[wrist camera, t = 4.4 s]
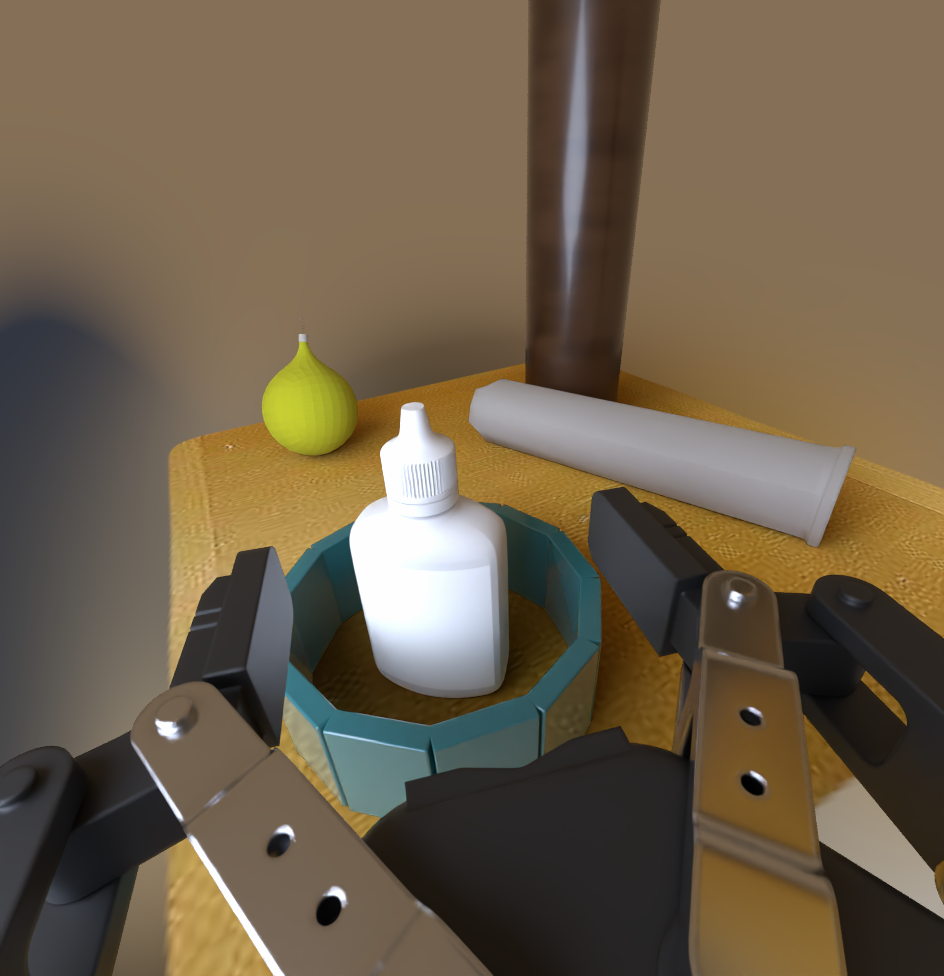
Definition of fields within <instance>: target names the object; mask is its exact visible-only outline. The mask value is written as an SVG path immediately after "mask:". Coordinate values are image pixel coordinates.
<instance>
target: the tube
mask: <svg viewBox="0 0 944 976" xmlns="http://www.w3.org/2000/svg"><path fill="white" fill-rule="evenodd" d="M469 422H470V423H471V424H472V425H473V427H474V428H475V429H476V430H477V431H478V432H479V433H480V435H481V436H482V437H483V438H484V439H485V440H486V441H487V442H490V443H493V444H496V445H500V446H503V447H506V448H510V449H513V450H516V451H519V452H523V453H526V454H529V455H532V456H536V457H539V458H542V459H545V460H549V461H552V462H555V463H558V464H562V465H565V466H568V467H572V468H575V469H578V470H581V471H585V472H588V473H591V474H594V475H598V476H601V477H604V478H607V479H611V480H614V481H617V482H620V483H624V484H627V485H630V486H633V487H637V488H640V489H643V490H647V491H650V492H653V493H656V494H660V495H663V496H666V497H669V498H673V499H676V500H679V501H682V502H686V503H689V504H692V505H695V506H699V507H702V508H705V509H709V510H712V511H715V512H718V513H722V514H725V515H728V516H731V517H735V518H738V519H741V520H744V521H748V522H751V523H754V524H757V525H761V526H764V527H767V528H771V529H774V530H777V531H780V532H784V533H787V534H790V535H793V536H797V537H799V538H802V539H804V540H805V541H806V543H807V545H810V546H813V547H819V544H820V542H821V539H822V537H823V534H824V531H825V529H826V526H827V524H828V521H829V519H830V516H831V513H832V511H833V508H834V506H835V503H836V500H837V498H838V495H839V493H840V490H841V487H842V485H843V482H844V480H845V477H846V474H847V472H848V469H849V467H850V464H851V461H852V459H853V456H854V453H855V451H856V448H855V447H853V446H847V445H844V446H843V447H841V448H834V447H828V446H824V445H819V444H814V443H809V442H804V441H799V440H795V439H790V438H785V437H780V436H775V435H771V434H766V433H761V432H756V431H751V430H746V429H742V428H737V427H732V426H727V425H722V424H718V423H713V422H708V421H703V420H698V419H693V418H689V417H684V416H679V415H674V414H669V413H665V412H660V411H655V410H650V409H645V408H640V407H636V406H631V405H626V404H621V403H616V402H612V401H607V400H602V399H597V398H592V397H587V396H583V395H578V394H573V393H568V392H563V391H558V390H554V389H549V388H544V387H539V386H534V385H530V384H525V383H520V382H515V381H510V380H505V379H500V380H498V381H496V382H494V383H492V384H490V385H488V386H485V387H482V388H478V389H476V391H475V394H474V397H473V400H472V403H471V407H470V414H469Z"/></svg>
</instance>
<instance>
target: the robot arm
mask: <svg viewBox="0 0 944 976" xmlns="http://www.w3.org/2000/svg"><path fill="white" fill-rule="evenodd" d="M588 545H589V551H590V554H591V557H592V559H593V561H594V563H595V564H596V566H597V567H598V569H599V570H600V572H601V573H602V574H603V576H604V577H605V579H606V580H607V582H608V583H609V585H610V586H611V587H612V589H613V590H614V592H615V593H616V595H617V596H618V598H619V599H620V600H621V602H622V603H623V605H624V606H625V608H626V609H627V611H628V612H629V613H630V615H631V616H632V618H633V619H634V621H635V622H636V623H637V625H638V626H639V628H640V629H641V631H642V632H643V634H644V635H645V636H646V638H647V639H648V641H649V642H650V644H651V645H652V647H653V648H654V649H655V651H656V652H657V654H658V655H659V657H661V656H666V655H670V654H674V653H679V655H680V656H681V657H682V659H683V663H682V666H681V672H680V681H679V691H678V700H677V710H676V719H675V728H674V737H673V743H672V749H671V751H668V750H665V749H662V748H659V747H655V746H651V745H645V744H638V743H629V741H628V739H627V737H626V735H625V733H624V732H623V730H622V728H621V726H619V727H615V728H611V729H607V730H603V731H599V732H596V733H592V734H588V735H584V736H580V737H576V738H573V739H570V740H568V741H566V742H565V743H563V744H561V745H560V746H558V747H556V748H554V749H553V750H551V751H549V752H548V753H546V754H544V755H543V756H541V757H539V758H538V759H536V760H534V761H532V762H531V763H529V764H527V765H525V766H523V767H520V768H457V769H453V770H449V771H446V772H442V773H438V774H434V775H430V776H426V777H423V778H419V779H415V780H411V781H407V782H405V791H406V800H407V801H405V802H403V803H402V804H400V805H398V806H397V807H395V808H394V809H392V810H391V811H390V812H388V813H387V814H386V815H384V816H383V817H382V818H381V819H380V820H379V821H378V822H377V823H376V824H374V825H373V826H372V827H371V828H370V830H369V831H368V832H367V833H366V834H365V835H364V836H363V838H362V839H361V838H360V837H359V836H358V835H357V833H356V832H355V831H354V830H353V829H352V828H351V827H350V826H349V825H348V824H347V822H346V821H345V820H344V819H343V818H342V817H341V816H340V815H339V814H338V812H337V811H336V810H335V809H334V808H333V807H332V806H331V805H330V804H329V803H328V801H327V800H326V799H325V798H324V797H323V796H322V795H321V794H320V793H319V792H318V790H317V789H316V788H315V787H314V786H313V785H312V784H311V783H310V782H309V781H308V779H307V778H306V777H305V776H304V775H303V774H302V773H301V772H300V771H299V770H298V768H297V767H296V766H295V765H294V764H293V763H292V762H291V761H290V760H289V759H288V757H287V756H286V755H285V754H284V753H283V752H282V751H280V750H279V749H278V748H274V749H273V750H271V749H270V748H271V747H275V746H279V744H280V735H281V726H282V717H283V708H284V699H285V690H286V681H287V672H288V663H289V654H290V645H291V636H292V627H293V605H292V599H291V595H290V592H289V589H288V586H287V582H286V579H285V576H284V573H283V570H282V567H281V564H280V561H279V558H278V555H277V552H276V550H275V548H274V547H273V546H270V547H264V548H258V549H252V550H246V551H241V552H238V554H237V556H236V559H235V563H234V566H233V570H232V573H231V575H229V576H223V577H217V578H216V579H215V580H214V582H213V583H212V584H211V585H210V586H209V587H208V588H207V590H206V591H205V592H204V593H203V594H202V596H201V598H200V601H199V604H198V607H197V610H196V617H194V619H193V622H192V624H191V627H190V629H191V632H189V633H188V636H187V639H186V642H185V645H184V647H183V650H182V653H181V656H180V659H179V662H178V665H177V668H176V670H175V673H174V676H173V679H172V682H171V685H170V688H169V690H167V691H165V692H164V693H162V694H160V695H159V696H157V697H156V698H155V699H153V700H152V701H151V702H150V703H149V704H148V705H147V706H146V707H145V708H144V709H143V710H142V711H141V713H140V714H139V715H138V717H137V718H136V720H135V722H134V724H133V727H132V730H131V731H129V732H127V733H125V734H124V735H122V736H120V737H118V738H116V739H113V740H111V741H109V742H108V743H105V744H103V745H101V746H99V747H96V748H94V749H92V750H90V751H88V752H86V753H84V754H82V755H79V756H77V757H75V758H73V757H72V756H71V754H70V753H69V752H68V751H67V750H66V749H64V748H61V747H58V746H45V747H40V748H36V749H33V750H30V751H27V752H25V753H23V754H20V755H18V756H17V757H15V758H13V759H11V760H9V761H8V762H6V763H5V764H3V765H2V766H0V976H112V973H113V969H114V965H115V960H116V957H117V953H118V949H119V945H120V941H121V936H122V932H123V928H124V924H125V920H126V916H127V912H128V908H129V904H130V900H131V896H132V892H133V888H134V884H135V880H136V876H137V872H138V868H139V865H140V864H142V863H144V862H146V861H147V860H149V859H151V858H152V857H154V856H156V855H158V854H159V853H161V852H163V851H165V850H166V849H168V848H170V847H172V846H173V845H175V844H177V843H178V842H180V841H182V840H184V839H185V838H187V837H188V839H189V840H190V842H191V844H192V845H193V847H194V848H195V850H196V852H197V853H198V855H199V856H200V858H201V860H202V861H203V863H204V864H205V866H206V868H207V869H208V871H209V872H210V874H211V876H212V877H213V879H214V880H215V882H216V884H217V885H218V887H219V888H220V890H221V892H222V893H223V895H224V896H225V898H226V900H227V901H228V903H229V904H230V906H231V908H232V909H233V911H234V912H235V914H236V916H237V917H238V919H239V920H240V922H241V924H242V925H243V927H244V928H245V930H246V932H247V933H248V935H249V936H250V938H251V940H252V941H253V943H254V944H255V946H256V948H257V949H258V951H259V952H260V954H261V956H262V957H263V959H264V960H265V962H266V964H267V965H268V967H269V968H270V970H271V972H272V973H273V975H274V976H944V919H943V918H941V917H940V916H938V915H937V914H935V913H933V912H932V911H930V910H929V909H927V908H925V907H924V906H922V905H921V904H919V903H917V902H916V901H914V900H913V899H911V898H909V897H908V896H906V895H905V894H903V893H901V892H900V891H898V890H897V889H895V888H893V887H892V886H890V885H889V884H887V883H886V882H884V881H882V880H881V879H879V878H878V877H876V876H874V875H872V874H871V873H870V872H868V871H866V870H865V869H863V868H861V867H860V866H858V865H857V864H855V863H854V862H852V861H850V860H849V859H847V858H846V857H844V856H842V855H841V854H839V853H837V852H836V851H834V850H833V849H831V848H830V847H828V846H826V845H825V844H823V843H821V842H820V841H819V839H818V831H817V823H816V816H815V808H814V800H813V792H812V784H811V777H810V769H809V761H808V753H807V745H806V737H805V730H804V722H803V714H804V715H805V716H806V717H807V719H808V720H809V721H810V722H811V723H812V725H813V726H814V727H815V728H816V730H817V731H818V732H819V733H820V734H821V736H822V737H823V738H824V739H825V740H826V742H827V743H828V744H829V745H830V747H831V748H832V749H833V750H834V751H835V753H836V754H837V755H838V756H839V757H840V759H841V760H842V761H843V762H844V764H845V765H846V766H847V767H848V768H849V770H850V771H851V772H852V773H853V774H854V776H855V777H856V778H857V779H858V781H859V782H860V783H861V784H862V785H863V787H864V788H865V789H866V790H867V792H868V793H869V794H870V795H871V796H872V797H873V799H874V800H875V801H876V802H877V804H878V805H879V806H880V807H881V808H882V810H883V811H884V812H885V813H886V814H887V816H888V817H889V818H890V819H891V821H892V822H893V823H894V824H895V826H896V827H897V828H898V829H899V830H900V832H901V833H902V834H903V835H904V836H905V838H906V839H907V840H908V841H909V843H910V844H911V845H912V846H913V847H914V849H915V850H916V851H917V852H918V853H919V855H920V856H921V857H922V858H923V860H924V861H925V862H926V863H927V864H928V866H929V867H930V868H931V869H932V870H933V872H934V873H935V883H936V888H937V891H938V893H939V896H940V898H941V900H942V902H943V904H944V638H942V637H941V636H940V635H938V634H937V633H936V632H935V631H933V630H932V629H931V628H930V627H928V626H927V625H926V624H924V623H923V622H922V621H921V620H919V619H918V618H917V617H915V616H914V615H913V614H912V613H910V612H909V611H908V610H907V609H905V608H904V607H903V606H901V605H900V604H899V603H898V602H896V601H895V600H894V599H892V598H891V597H890V596H889V595H887V594H886V593H885V592H883V591H882V590H881V589H879V588H877V587H876V586H874V585H872V584H870V583H868V582H866V581H863V580H860V579H857V578H854V577H850V576H844V575H827V576H823V577H821V578H819V579H818V580H817V581H816V582H815V584H814V586H813V589H812V591H811V594H804V593H782V592H773V591H772V589H771V588H770V587H769V586H768V585H766V584H765V583H764V582H762V581H761V580H759V579H757V578H755V577H753V576H751V575H748V574H746V573H742V572H738V571H731V570H724V569H723V568H722V567H721V566H720V565H719V564H718V563H717V562H716V561H714V560H713V559H712V558H711V557H710V556H709V555H708V554H707V553H706V552H705V551H704V550H703V549H702V548H701V547H700V546H699V545H698V544H697V543H696V542H695V541H694V540H693V539H692V538H691V537H690V536H687V533H686V532H685V531H684V530H683V529H682V528H681V527H680V526H677V525H676V523H675V522H674V521H673V520H672V519H671V518H670V517H669V516H668V515H667V514H666V513H665V512H664V511H662V510H660V509H658V508H656V507H655V506H653V505H651V504H649V503H647V502H643V503H640V502H639V501H638V500H637V499H636V498H635V497H634V496H633V495H632V494H631V493H630V492H629V491H628V490H627V489H626V488H624V487H619V488H614V489H608V490H602V491H596V492H595V493H594V494H593V496H592V503H591V513H590V524H589V535H588ZM865 671H867V672H868V673H869V674H870V675H871V676H872V677H873V678H874V679H875V680H876V681H877V682H878V683H879V684H880V685H881V686H882V687H884V688H885V689H886V690H887V691H888V692H889V693H890V694H891V695H892V696H893V697H894V698H895V699H896V700H897V701H898V703H899V704H900V705H901V707H902V708H903V710H904V712H905V715H906V719H907V726H906V725H905V724H904V723H903V722H902V721H901V720H900V719H899V718H898V717H897V716H896V715H895V714H894V713H893V712H892V711H891V710H890V709H889V708H888V707H887V706H886V705H885V704H884V703H883V702H882V701H881V700H880V699H879V698H878V697H877V696H876V695H875V694H874V693H873V692H872V691H871V690H870V689H869V688H868V687H867V686H866V685H865V684H864V683H863V682H862V681H861V678H862V677H863V675H864V673H865ZM802 712H803V714H802Z"/></svg>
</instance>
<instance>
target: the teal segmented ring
mask: <svg viewBox="0 0 944 976" xmlns="http://www.w3.org/2000/svg"><path fill="white" fill-rule="evenodd" d="M478 503H480V504H482V505H484V506H486V507H487V508H489V509H491V510H492V511H494V512H495V513H496V514H497V515H498V516H500V517H501V519H502V520H503V522H504V525H505V529H506V535H507V560H508V589H510V590H512V591H514V592H515V593H517V594H519V595H521V596H523V597H524V598H526V599H528V600H530V601H531V602H533V603H535V604H537V605H539V606H540V607H542V608H544V609H545V610H546V611H547V613H548V615H549V616H550V618H551V619H552V621H553V623H554V624H555V626H556V627H557V629H558V631H559V632H560V634H561V635H562V637H563V639H564V640H565V642H566V643H567V645H568V647H569V648H568V649H567V650H566V651H565V652H564V653H563V655H562V656H561V657H560V658H559V659H558V660H557V661H556V662H555V664H554V665H553V666H552V667H551V668H550V669H549V670H548V671H547V672H546V674H545V675H544V676H543V677H542V678H541V679H540V680H539V681H538V683H537V684H536V685H535V686H534V687H533V688H532V689H531V690H530V691H529V693H528V694H527V695H524V696H521V697H517V698H514V699H511V700H508V701H505V702H502V703H499V704H496V705H493V706H490V707H487V708H483V709H480V710H477V711H474V712H471V713H468V714H465V715H462V716H459V717H456V718H452V719H449V720H446V721H443V722H440V723H437V724H434V725H431V726H429V725H423V724H417V723H412V722H406V721H400V720H395V719H389V718H383V717H378V716H372V715H366V714H361V713H355V712H349V711H344V710H338V709H336V708H335V707H334V706H333V705H332V704H331V703H330V702H329V701H328V699H327V698H326V697H325V696H324V695H323V694H322V693H321V692H320V691H319V690H318V689H317V688H316V687H315V686H314V685H313V678H312V673H313V672H314V670H315V668H316V666H317V665H318V663H319V661H320V660H321V658H322V656H323V654H324V653H325V651H326V649H327V647H328V646H329V644H330V642H331V641H332V639H333V637H334V635H335V634H336V632H337V630H338V628H339V627H340V625H341V624H342V623H343V622H344V621H346V620H347V619H349V618H350V617H352V616H353V615H354V614H356V613H357V612H359V611H360V610H362V609H363V606H362V602H361V597H360V592H359V588H358V583H357V579H356V574H355V570H354V565H353V559H352V554H351V549H350V533H351V529H352V526H353V525H354V523H355V521H354V522H352V523H350V524H348V525H347V526H345V527H343V528H341V529H339V530H338V531H336V532H334V533H332V534H330V535H329V536H327V537H325V538H323V539H321V540H320V541H318V542H316V543H314V544H312V545H311V548H312V549H311V548H308V549H307V550H306V551H305V552H304V554H303V555H302V556H301V557H300V559H299V560H298V561H297V562H296V564H295V565H294V566H293V567H292V569H291V570H290V571H289V573H288V574H287V575H286V576H285V579H286V582H287V586H288V589H289V592H290V595H291V599H292V605H293V627H292V636H291V645H290V654H289V663H288V672H287V681H286V690H285V699H284V708H283V719H284V721H285V723H286V726H287V728H288V731H289V733H290V736H291V738H292V741H293V743H294V745H295V748H296V750H297V751H298V752H299V753H300V755H301V756H302V757H303V758H304V759H305V761H306V762H307V763H308V764H309V765H310V767H311V768H312V769H313V770H314V771H315V773H316V774H317V775H318V776H319V777H320V779H321V780H322V781H323V782H324V783H325V785H326V786H327V787H328V788H329V789H330V791H331V792H332V793H333V794H334V795H335V797H336V798H337V799H338V800H339V802H340V803H341V804H342V805H343V806H347V805H348V806H349V809H350V810H351V811H355V812H359V813H364V814H368V815H373V816H377V817H383V816H384V815H386V814H387V813H388V812H390V811H391V810H392V809H394V808H395V807H397V806H398V805H400V804H402V803H403V802H405V801H407V800H406V791H405V782H407V781H411V780H415V779H419V778H423V777H426V776H430V775H434V774H438V773H442V772H446V771H449V770H453V769H457V768H520V767H523V766H525V765H527V764H529V763H531V762H532V761H534V760H536V759H538V758H539V757H541V756H543V755H544V754H546V753H548V752H549V751H551V750H553V749H554V748H556V747H558V746H560V745H561V744H563V743H565V742H566V741H568V740H570V739H573V738H576V737H580V736H583V735H584V733H585V732H586V731H587V729H588V728H589V725H590V722H591V721H592V714H593V706H594V698H595V690H596V683H597V675H598V667H599V659H600V652H601V644H602V615H601V579H600V578H599V574H598V573H597V572H596V571H595V569H594V568H593V567H592V566H591V564H590V563H589V562H588V561H587V560H586V558H585V557H584V556H583V555H582V554H581V552H580V551H579V550H578V549H577V547H576V546H575V545H574V544H573V543H572V541H571V540H570V539H569V538H568V537H567V535H566V534H565V533H564V532H563V531H560V529H559V528H558V527H556V526H553V525H551V524H549V523H546V522H544V521H542V520H539V519H537V518H535V517H532V516H530V515H528V514H526V513H523V512H521V511H519V510H516V509H514V508H512V507H509V506H507V505H503V506H501V504H497V503H484V502H478Z"/></svg>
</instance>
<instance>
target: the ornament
mask: <svg viewBox="0 0 944 976" xmlns="http://www.w3.org/2000/svg"><path fill="white" fill-rule="evenodd" d="M299 342H300V344H299V349H298V352H297V355H296V357H295V358H294V359H293V360H292V361H291V363H289V364H288V365H287V366H286V367H285V368H283V370H281V371H280V372H279V373H278V374H277V375H276V376H275V377H274V378H273V379H272V380H271V382H270V383H269V384H268V386H267V388H266V390H265V393H264V395H263V401H262V414H263V419H264V422H265V424H266V427H267V429H268V430H269V432H270V433H271V435H272V436H273V437H274V439H276V440H277V441H278V442H279V443H280V444H281V445H282V446H284V447H285V448H287V449H288V450H291V451H293V452H296V453H299V454H303V455H322V454H326V453H329V452H331V451H333V450H335V449H337V448H339V447H340V446H341V445H343V444H344V443H345V442H346V441H347V440H348V438H349V437H350V436H351V435H352V433H353V431H354V429H355V426H356V423H357V417H358V406H357V400H356V397H355V395H354V392H353V390H352V388H351V387H350V385H349V384H348V382H347V381H346V380H345V379H344V378H343V377H342V376H341V375H339V374H338V373H337V372H336V371H334V370H333V369H331V368H329V367H328V366H326V365H325V364H324V363H322V362H321V361H319V360H318V359H317V358H316V357H315V356H314V354H313V353H312V351H311V350H310V348H309V346H308V336H307V335H304V334H300V335H299Z"/></svg>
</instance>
